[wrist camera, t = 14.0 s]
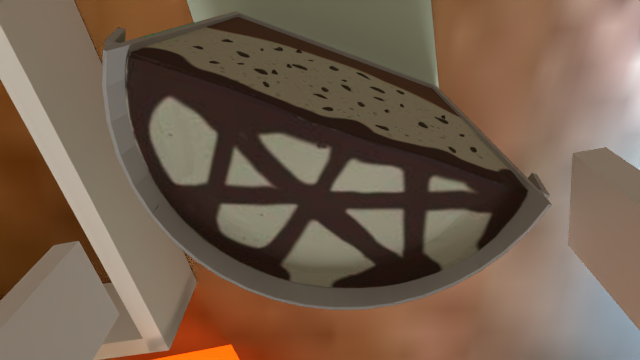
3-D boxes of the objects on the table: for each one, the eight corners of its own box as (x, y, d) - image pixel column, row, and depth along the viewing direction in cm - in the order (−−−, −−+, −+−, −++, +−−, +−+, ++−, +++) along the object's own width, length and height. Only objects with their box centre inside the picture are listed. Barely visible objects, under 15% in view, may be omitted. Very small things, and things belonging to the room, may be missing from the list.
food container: (174, 127, 21) (58, 255, 12) (201, -2, 18) (77, 40, 9) (408, 205, 23) (456, 366, 14) (465, 96, 20) (570, 211, 11)
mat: (273, 257, 25) (272, 262, 25) (174, -51, 18) (170, -51, 18) (449, 229, 24) (451, 234, 23) (418, -113, 17) (420, -114, 16)
